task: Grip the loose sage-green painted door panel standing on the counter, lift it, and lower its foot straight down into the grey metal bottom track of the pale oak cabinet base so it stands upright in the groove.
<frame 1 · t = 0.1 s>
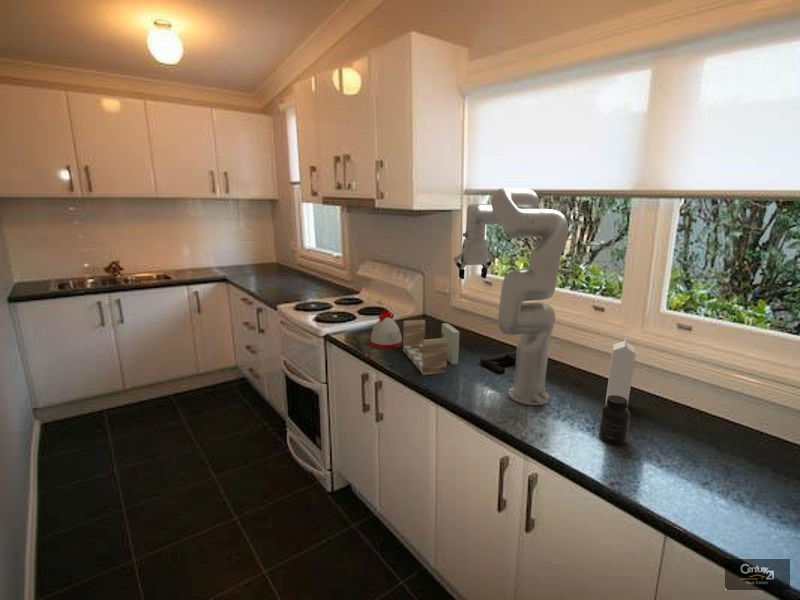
hand: (472, 278, 173), 31 cm above the counter, tool pointing down, fingers open, 9 cm apart
kitchen timer: (386, 343, 188), on the counter
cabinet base: (423, 360, 168), on the counter
supplement bottle: (611, 440, 115), on the counter
door panel: (449, 358, 171), on the counter
milk: (615, 405, 134), on the counter
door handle: (509, 367, 164), on the counter
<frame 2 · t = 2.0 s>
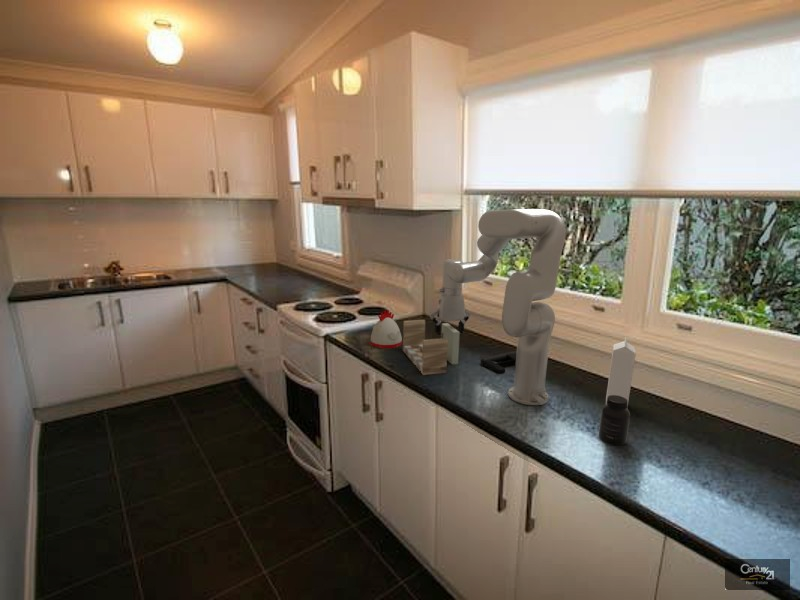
hand: (449, 333, 169), 11 cm above the counter, tool pointing down, fingers open, 9 cm apart
nothing on the counter moved.
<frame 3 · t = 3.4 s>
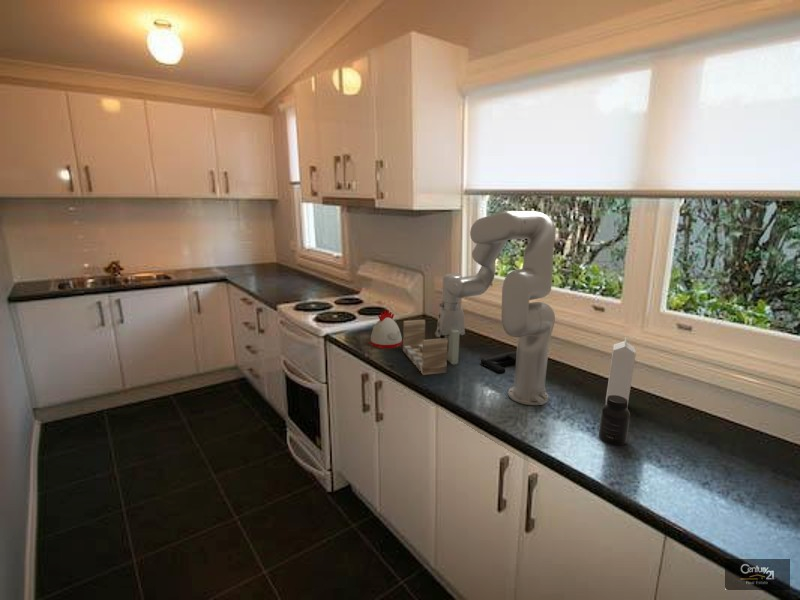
hand: (449, 349, 170), 4 cm above the counter, tool pointing down, fingers closed on door panel, 2 cm apart
door panel: (449, 358, 171), on the counter, touching gripper
everything else where it was.
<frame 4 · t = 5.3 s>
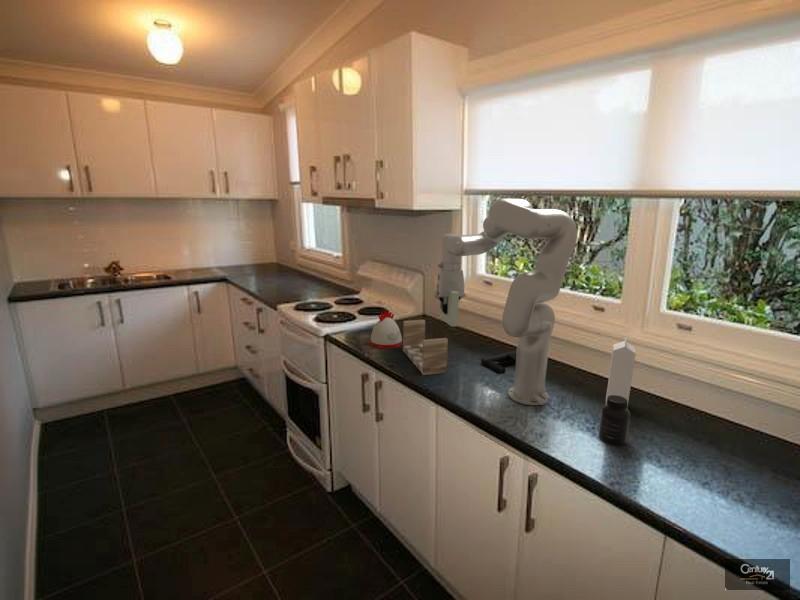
hand: (448, 312, 166), 19 cm above the counter, tool pointing down, fingers closed on door panel, 2 cm apart
door panel: (448, 321, 167), point 15 cm above the counter, touching gripper
everything else where it was.
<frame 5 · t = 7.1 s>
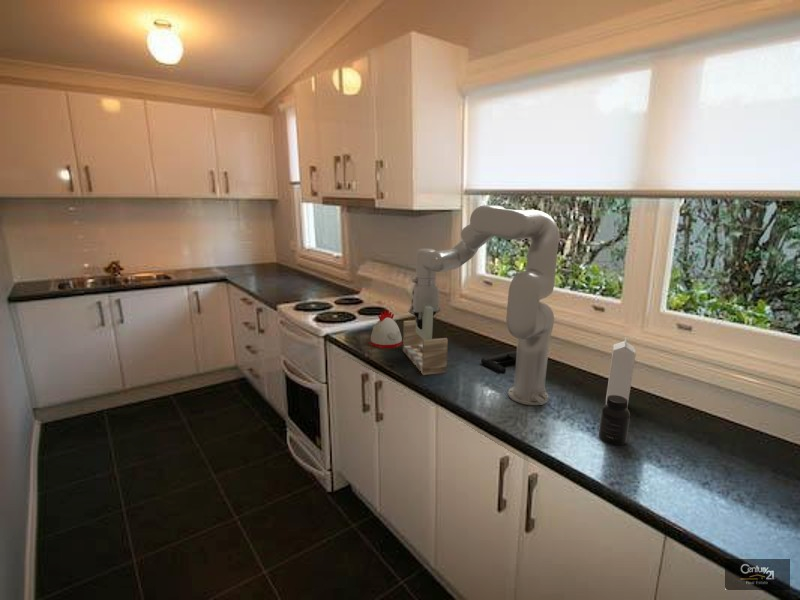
hand: (423, 327, 165), 14 cm above the counter, tool pointing down, fingers closed on door panel, 2 cm apart
door panel: (423, 336, 165), point 10 cm above the counter, touching gripper
everything else where it was.
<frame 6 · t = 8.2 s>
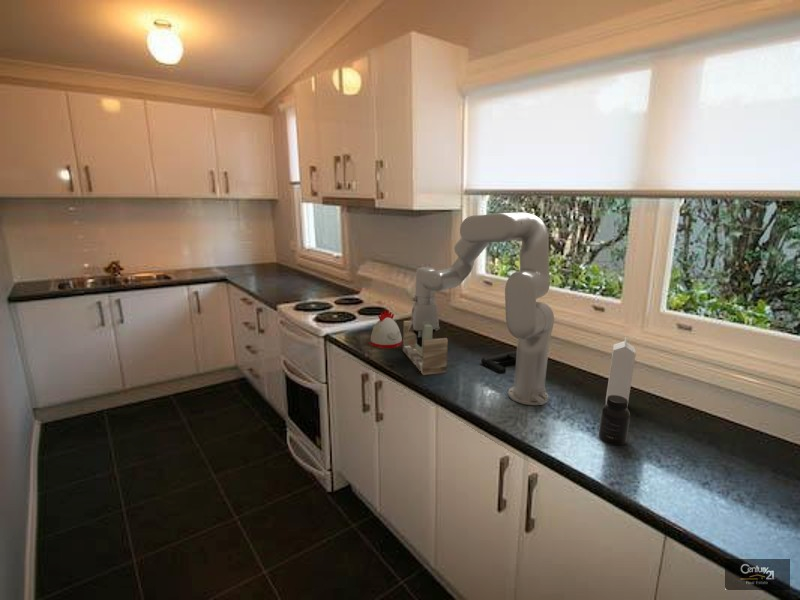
hand: (423, 345, 166), 7 cm above the counter, tool pointing down, fingers closed on door panel, 2 cm apart
door panel: (423, 354, 167), point 3 cm above the counter, touching gripper
everything else where it was.
when the fingers open (6 cm above the counter, at t = 8.7 s): door panel stays where it is, resting on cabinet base.
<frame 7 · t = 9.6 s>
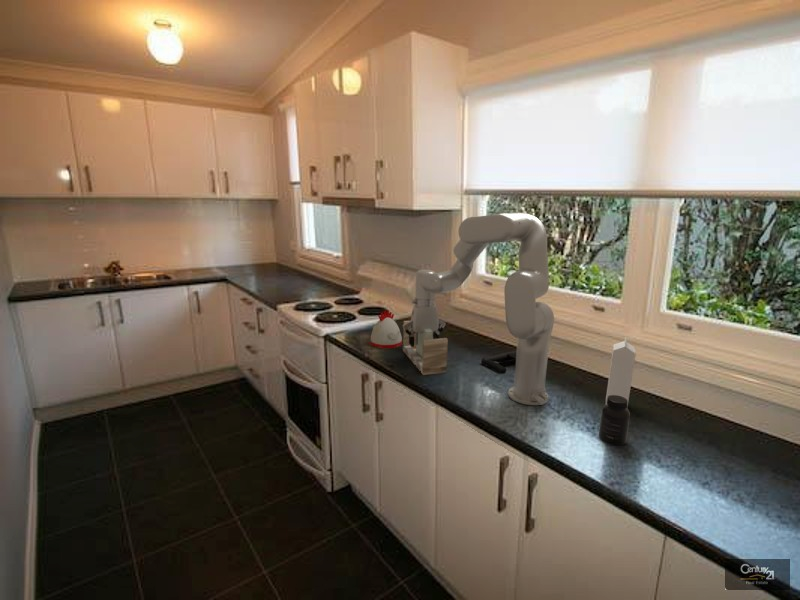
hand: (423, 344, 166), 7 cm above the counter, tool pointing down, fingers open, 9 cm apart
door panel: (423, 358, 167), point 1 cm above the counter, touching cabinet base
everything else where it was.
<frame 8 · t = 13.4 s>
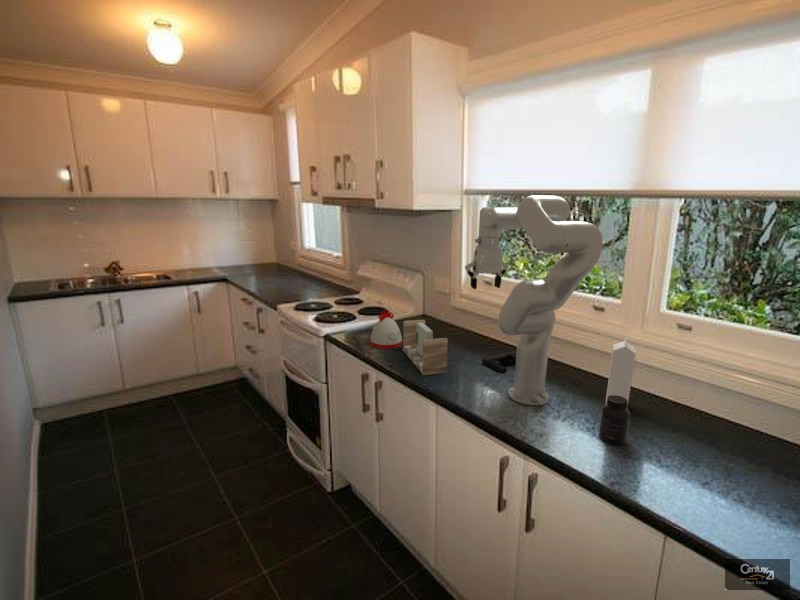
hand: (485, 287, 159), 30 cm above the counter, tool pointing down, fingers open, 9 cm apart
at the end: door panel inside the target area on the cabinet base (0.1 cm from its centre), point 1.0 cm above the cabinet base's base; door panel tilted 0°; the gripper is holding nothing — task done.
